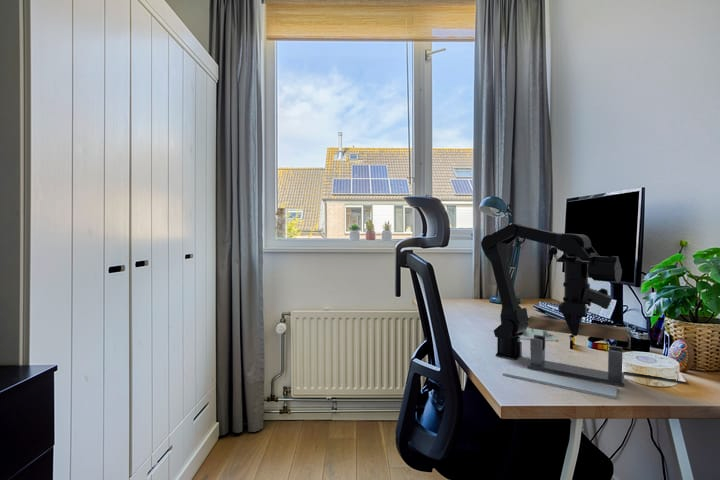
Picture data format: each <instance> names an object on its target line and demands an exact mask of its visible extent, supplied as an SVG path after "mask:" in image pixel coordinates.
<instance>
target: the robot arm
mask: <svg viewBox="0 0 720 480" xmlns="http://www.w3.org/2000/svg"><path fill="white" fill-rule="evenodd" d="M517 238H521V239H525V240H529V241H533V242H536V243H541V244H545V245H549V246H551V247H552V248H555V249H556V250H558V251H560V252H562V253H563V254H562V255H561V256H560V257H559V258H557V259H556V262H557V263H564V282H563V287H564V289H563V292H564V293H563V294H564V296H563V298H562V299H563V301H562V302H561V303H560V304H559V305H558V313H560V314H562V316H563V318H564V320H566V322H567V324H568V327H569V329H570V331H571V334H570V335H571V336H572V337H577V336H578V335H577V333H578V329H579V325H580V322H582V321H583V317H585V316H587V314H588V312H589V311H590V307H591V306H592V304H594V305H597V306H598V307H601V308H602V309H605V310H608V309H609V306H610V304H611V302H612V299H613V296H612V295H609V292H608V289H605V288H602V287H601V288H600V289H599V290H597V289H593V288H591V284H590V282H589V278H591V279H592V280H593V281H595V282H606V283H607V282H609V283H620V281H622V275H623V268H622V266H621V265H622V264H621V262H620V257H619V256H618V255H617V256H615V255H611V256H603V255H602V256H600V255H599V253H598V252H597V251H596V250H595V248H594V247H593V246H592V242H591V241H592V240H591V239H590V237H589V236H587V235H586V234H581V233H580V234H578V233H563V232H554V231H550V230H545V229H542V228H537V227H532V226H528V225H523V224H522V223H515V222H514V223H512V222H511V223H509V224H508V225H506V226H505V227H503V228H501V229H499V230H496V231H495V232H492V233H491V234H486V235H484V237H483V238H482V240H480V247H481V249H482V251H483V253H484V256H485V257H486V258H487V260H488V261H489V262H490V263H491V268H492V271H493V275H494V279H495V283H496V287H497V290H498V296H499V300H500V304H501V310H500V314H499V315H500V317H499V318H500V324H499V325H498V326H497V327H496V328H495V329H493V333H494V337H495V338H497V344H496V345H497V347H496V351H497V352H496V353H495V356H496V357H499V358H504V359H505V358H506V359H509V360H510V359H511V360H518V359H519V358H520V357H521V356H522V355H523V352H522V351H523V348H522V347H523V343H522V341H521V339H520V337H519V336H522V334H523V332H524V331H525V330H526V329H527V327H528V320H529V315H528V310H527V307H523V308H522V307H521V305H519V303H518V300H517V296H516V292H515V288H514V283H513V280H512V277H511V273H510V268H509V265H508V260H507V258H508V254H509V249H508V248H509V245H510V244H511V243H513V242H514V241H515V240H516V239H517Z"/></svg>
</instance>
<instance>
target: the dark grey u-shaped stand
mask: <svg viewBox="0 0 720 480" xmlns="http://www.w3.org/2000/svg"><path fill="white" fill-rule="evenodd" d="M529 343H530V345H529V346H530V350H529V351H530V361H529V362H528V364H527V369H529V370H534V371H539V372H544V373H549V374H554V375H560V376H562V375H563V376H565V377H570V378H575V379H580V380H585V381H590V382H595V383H601V384H606V385H611V386H616V387H617V386H618V387H625V374H624V373H623V372H622V364H623V349H624V348H623V347H622V346H617V345H616V346H615V345H608V351H607V352H608V356H607V358H608V360H607V371H605V370H600V369H595V368H589V367H583V366H579V365H571V364H566V363H563V362H561V363H560V362H555V361H549V360H546V341H545V336H541V335H534V339H533V338H531V339H530V340H529Z"/></svg>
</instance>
